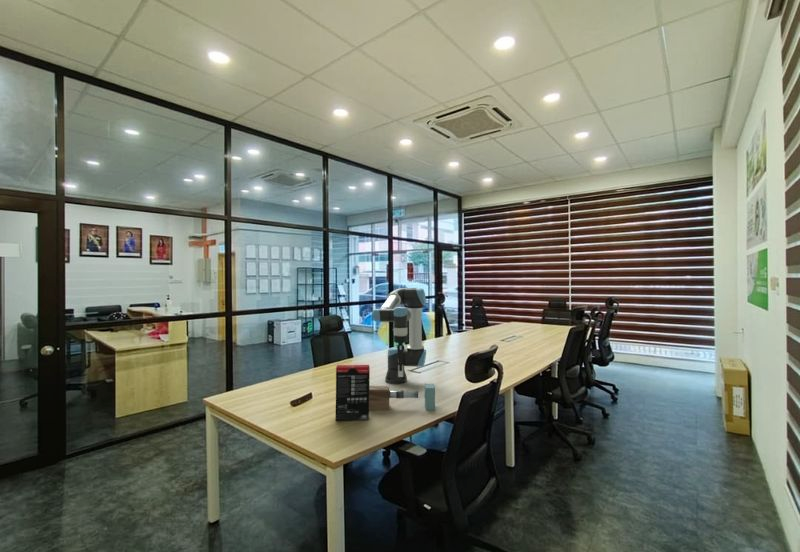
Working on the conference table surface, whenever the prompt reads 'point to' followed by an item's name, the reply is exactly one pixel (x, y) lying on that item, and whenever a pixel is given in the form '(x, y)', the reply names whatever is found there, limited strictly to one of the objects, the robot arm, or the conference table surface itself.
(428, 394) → the teal rectangular block
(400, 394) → the tube
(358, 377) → the graphics card box
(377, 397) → the brown wooden block
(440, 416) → the conference table surface
